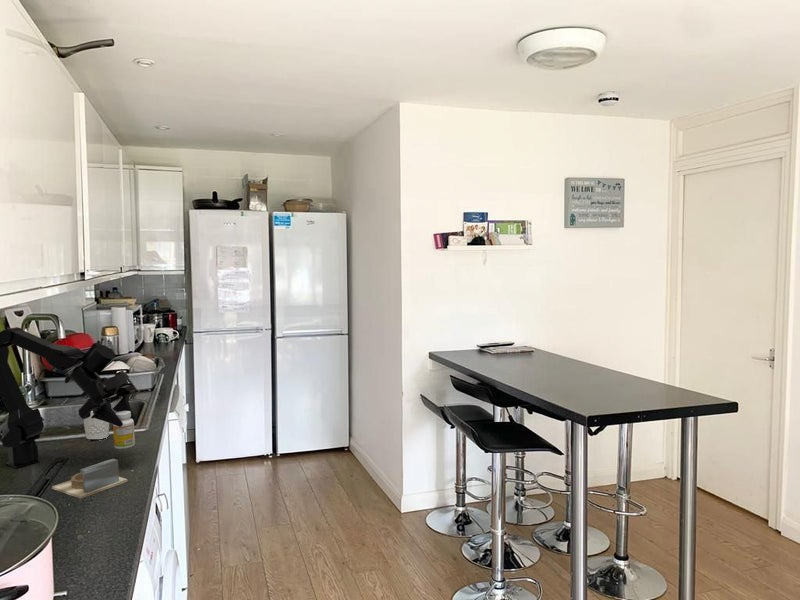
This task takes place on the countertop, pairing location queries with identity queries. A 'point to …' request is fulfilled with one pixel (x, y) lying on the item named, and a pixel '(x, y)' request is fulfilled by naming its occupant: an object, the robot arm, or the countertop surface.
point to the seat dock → (92, 480)
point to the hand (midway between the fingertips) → (127, 422)
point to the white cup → (96, 428)
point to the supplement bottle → (124, 431)
